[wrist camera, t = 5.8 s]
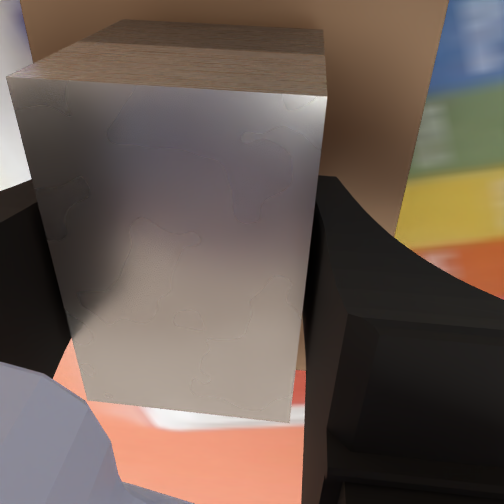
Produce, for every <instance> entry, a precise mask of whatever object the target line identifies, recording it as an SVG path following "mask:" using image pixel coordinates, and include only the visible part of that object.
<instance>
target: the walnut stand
mask: <svg viewBox="0 0 504 504" xmlns="http://www.w3.org/2000/svg"><path fill="white" fill-rule="evenodd" d="M448 3H449V0H20V4H21V8H22V13H23V17H24V22H25V27H26V31H27V36H28V40H29V45H30V50H31V54H32V59H33V63H35V62H37V61H39V60H41V59H43V58H45V57H47V56H49V55H51V54H53V53H55V52H57V51H59V50H61V49H63V48H66V47H68V46H70V45H72V44H74V43H76V42H78V41H80V40H82V39H84V38H86V37H88V36H90V35H92V34H94V33H96V32H98V31H100V30H102V29H104V28H106V27H108V26H110V25H112V24H114V23H116V22H118V21H120V20H122V19H130V20H149V21H169V22H188V23H207V24H227V25H246V26H266V27H285V28H304V29H323V35H324V50H325V66H326V82H327V105H326V113H325V122H324V131H323V139H322V148H321V156H320V165H319V173H318V175H324V176H336V177H337V178H338V179H339V180H340V181H341V183H342V184H343V185H344V186H345V188H346V189H347V190H348V191H349V193H350V194H351V195H352V196H353V197H354V199H355V200H356V201H357V202H358V203H359V204H360V205H361V207H362V208H363V209H364V210H365V211H366V212H367V213H368V214H369V215H370V216H371V217H372V218H373V219H374V220H375V221H376V222H377V223H378V224H379V225H380V226H382V227H383V228H384V229H385V230H386V231H387V232H388V233H389V234H390V235H392V236H393V237H394V235H395V231H396V226H397V222H398V218H399V213H400V209H401V205H402V201H403V196H404V192H405V188H406V183H407V179H408V175H409V170H410V166H411V162H412V158H413V153H414V149H415V145H416V140H417V136H418V132H419V127H420V123H421V119H422V114H423V110H424V106H425V102H426V97H427V93H428V89H429V84H430V80H431V76H432V71H433V67H434V63H435V59H436V54H437V50H438V46H439V41H440V37H441V33H442V28H443V24H444V20H445V16H446V11H447V7H448ZM296 370H304V371H306V355H305V342H304V330H303V317H302V319H301V327H300V336H299V344H298V353H297V361H296Z"/></svg>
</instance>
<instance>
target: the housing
mask: <svg viewBox="0 0 504 504" xmlns="http://www.w3.org/2000/svg"><path fill="white" fill-rule="evenodd" d="M6 79H7V83H8V87H9V91H10V95H11V99H12V103H13V106H14V110H15V114H16V118H17V122H18V126H19V130H20V134H21V138H22V142H23V146H24V150H25V154H26V158H27V162H28V166H29V170H30V174H31V178H32V182H33V186H34V190H35V194H36V198H37V202H38V206H39V210H40V214H41V218H42V222H43V226H44V230H45V234H46V237H47V241H48V245H49V249H50V253H51V257H52V261H53V265H54V269H55V273H56V277H57V281H58V285H59V289H60V293H61V297H62V301H63V305H64V309H65V313H66V317H67V321H68V325H69V329H70V333H71V337H72V341H73V345H74V349H75V353H76V357H77V361H78V365H79V368H80V372H81V376H82V380H83V384H84V388H85V392H86V396H87V400H89V401H98V402H107V403H116V404H125V405H133V406H142V407H151V408H160V409H169V410H178V411H187V412H196V413H205V414H213V415H222V416H231V417H240V418H249V419H258V420H267V421H276V422H285V423H289V421H290V413H291V404H292V396H293V387H294V379H295V370H296V361H297V353H298V344H299V336H300V327H301V319H302V310H303V302H304V293H305V285H306V276H307V267H308V259H309V250H310V242H311V233H312V225H313V216H314V208H315V199H316V190H317V182H318V173H319V165H320V156H321V148H322V139H323V131H324V122H325V113H326V105H327V82H326V66H325V50H324V35H323V29H304V28H285V27H266V26H246V25H227V24H207V23H188V22H169V21H149V20H130V19H122V20H120V21H118V22H116V23H114V24H112V25H110V26H108V27H106V28H104V29H102V30H100V31H98V32H96V33H94V34H92V35H90V36H88V37H86V38H84V39H82V40H80V41H78V42H76V43H74V44H72V45H70V46H68V47H66V48H63V49H61V50H59V51H57V52H55V53H53V54H51V55H49V56H47V57H45V58H43V59H41V60H39V61H37V62H35V63H33V64H31V65H29V66H27V67H25V68H23V69H21V70H19V71H17V72H15V73H13V74H11V75H9V76H7V77H6Z"/></svg>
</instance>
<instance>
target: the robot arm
mask: <svg viewBox="0 0 504 504" xmlns="http://www.w3.org/2000/svg"><path fill="white" fill-rule="evenodd" d="M302 317H303V330H304V342H305V355H306V395H305V425H304V452H303V477H302V501H301V504H504V300H503V299H500V298H498V297H496V296H494V295H491V294H489V293H487V292H485V291H482V290H480V289H478V288H476V287H473V286H471V285H469V284H467V283H465V282H463V281H461V280H459V279H457V278H455V277H454V276H452V275H450V274H448V273H447V272H445V271H443V270H441V269H440V268H438V267H436V266H434V265H433V264H431V263H429V262H428V261H426V260H425V259H423V258H421V257H420V256H418V255H417V254H416V253H414V252H413V251H411V250H410V249H409V248H407V247H406V246H405V245H403V244H402V243H400V242H399V241H398V240H397V239H395V238H394V237H393V236H392V235H390V234H389V233H388V232H387V231H386V230H385V229H384V228H383V227H382V226H380V225H379V224H378V223H377V222H376V221H375V220H374V219H373V218H372V217H371V216H370V215H369V214H368V213H367V212H366V211H365V210H364V209H363V208H362V207H361V205H360V204H359V203H358V202H357V201H356V200H355V199H354V197H353V196H352V195H351V194H350V193H349V191H348V190H347V189H346V188H345V186H344V185H343V184H342V183H341V181H340V180H339V179H338V178H337V177H336V176H324V175H318V182H317V190H316V199H315V208H314V216H313V225H312V233H311V242H310V250H309V259H308V267H307V276H306V285H305V293H304V302H303V310H302ZM70 339H71V333H70V329H69V325H68V321H67V317H66V313H65V309H64V305H63V301H62V297H61V293H60V289H59V285H58V281H57V277H56V273H55V269H54V265H53V261H52V257H51V253H50V249H49V245H48V241H47V237H46V234H45V230H44V226H43V222H42V218H41V214H40V210H39V206H38V202H37V198H36V194H35V190H34V186H33V182H32V179H31V180H29V181H26V182H24V183H21V184H19V185H16V186H13V187H11V188H8V189H5V190H2V191H0V504H194V503H191V502H187V501H184V500H181V499H178V498H174V497H171V496H168V495H165V494H162V493H158V492H155V491H152V490H149V489H145V488H142V487H139V486H136V485H132V484H129V483H125V482H122V481H121V479H120V477H119V475H118V471H117V467H116V462H115V458H114V453H113V449H112V445H111V441H110V439H109V438H108V436H107V434H106V433H105V431H104V430H103V428H102V427H101V425H100V423H99V422H98V420H97V419H96V417H95V415H94V414H93V412H92V411H91V409H90V408H89V406H88V404H87V403H86V401H85V400H83V399H82V398H80V397H79V396H77V395H76V394H74V393H73V392H71V391H70V390H68V389H67V388H65V387H64V386H62V385H61V384H59V383H57V382H56V381H54V380H53V376H54V374H55V372H56V369H57V367H58V365H59V362H60V360H61V358H62V356H63V353H64V351H65V349H66V347H67V345H68V343H69V341H70Z"/></svg>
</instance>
